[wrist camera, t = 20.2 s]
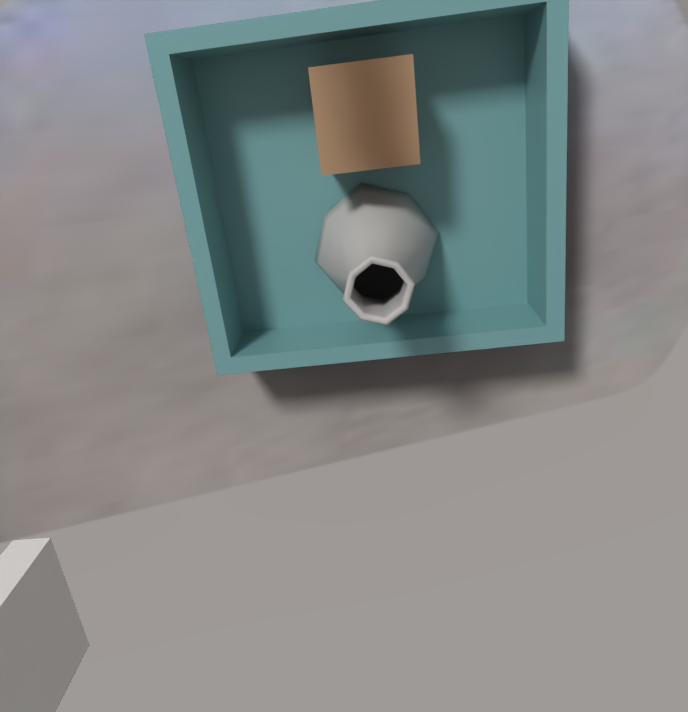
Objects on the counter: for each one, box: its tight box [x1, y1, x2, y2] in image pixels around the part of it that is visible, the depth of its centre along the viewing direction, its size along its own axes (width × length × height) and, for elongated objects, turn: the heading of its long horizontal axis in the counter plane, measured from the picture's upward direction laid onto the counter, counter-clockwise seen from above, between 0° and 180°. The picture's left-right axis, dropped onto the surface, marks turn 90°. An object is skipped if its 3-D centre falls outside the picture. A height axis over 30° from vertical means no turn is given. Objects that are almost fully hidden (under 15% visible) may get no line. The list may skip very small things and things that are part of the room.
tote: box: [144, 0, 569, 375], centre depth 35 cm, size 20×18×5 cm
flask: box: [315, 183, 439, 326], centre depth 33 cm, size 7×7×10 cm
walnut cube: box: [308, 54, 420, 176], centre depth 33 cm, size 5×5×5 cm
